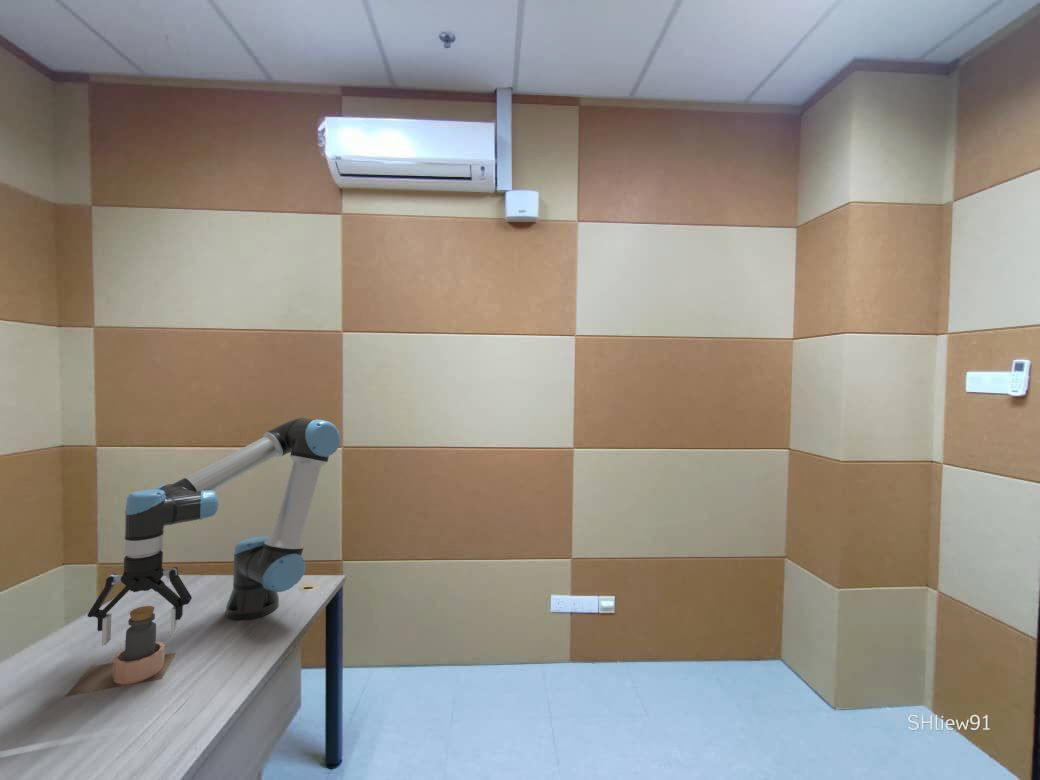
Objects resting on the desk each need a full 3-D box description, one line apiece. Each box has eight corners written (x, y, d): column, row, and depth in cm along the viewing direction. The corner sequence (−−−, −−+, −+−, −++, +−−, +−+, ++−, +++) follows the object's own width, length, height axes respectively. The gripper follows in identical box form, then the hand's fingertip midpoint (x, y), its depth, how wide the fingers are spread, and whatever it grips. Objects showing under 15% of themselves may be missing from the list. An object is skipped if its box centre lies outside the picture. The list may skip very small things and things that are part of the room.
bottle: (136, 678, 109) (139, 617, 109) (117, 674, 110) (120, 613, 110) (160, 664, 115) (163, 606, 115) (142, 660, 116) (144, 603, 116)
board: (176, 656, 121) (176, 652, 122) (161, 682, 110) (161, 678, 110) (90, 670, 114) (90, 666, 114) (65, 700, 103) (65, 696, 103)
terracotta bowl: (168, 657, 119) (169, 638, 119) (156, 679, 110) (156, 658, 110) (122, 665, 115) (123, 645, 115) (105, 688, 106) (106, 666, 106)
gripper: (206, 542, 121) (203, 621, 121) (86, 553, 111) (83, 639, 111) (199, 552, 115) (196, 635, 114) (71, 564, 105) (67, 655, 104)
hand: (140, 637), depth 113 cm, fingers open, 13 cm apart
